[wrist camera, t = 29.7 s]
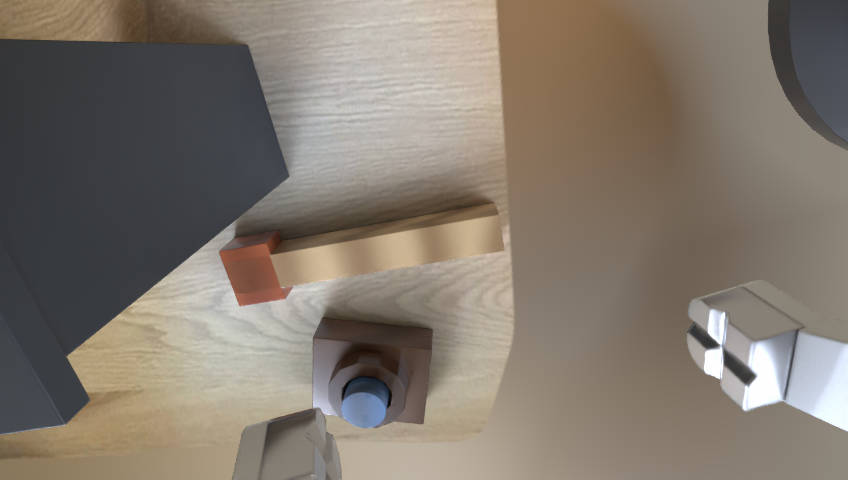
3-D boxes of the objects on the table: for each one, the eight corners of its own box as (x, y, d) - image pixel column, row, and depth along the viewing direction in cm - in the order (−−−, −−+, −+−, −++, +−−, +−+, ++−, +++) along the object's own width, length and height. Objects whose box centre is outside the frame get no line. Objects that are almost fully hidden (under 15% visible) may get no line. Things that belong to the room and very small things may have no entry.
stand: (247, 21, 35) (-217, -47, 10) (301, 193, 39) (65, 426, 15) (108, 54, 36) (-596, 64, 12) (176, 217, 40) (-229, 469, 16)
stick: (493, 190, 38) (496, 201, 36) (502, 247, 40) (506, 262, 37) (233, 237, 41) (218, 251, 38) (253, 289, 43) (239, 306, 40)
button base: (433, 329, 43) (431, 362, 39) (424, 400, 46) (422, 440, 41) (321, 317, 43) (306, 350, 39) (320, 390, 46) (306, 428, 42)
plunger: (390, 378, 40) (387, 394, 38) (387, 412, 41) (384, 430, 39) (346, 373, 40) (341, 389, 38) (345, 408, 41) (340, 425, 39)
